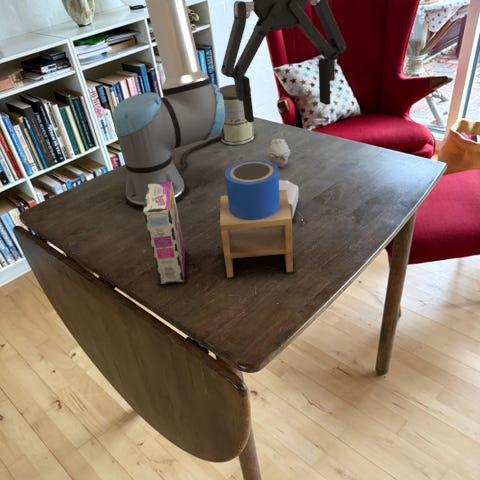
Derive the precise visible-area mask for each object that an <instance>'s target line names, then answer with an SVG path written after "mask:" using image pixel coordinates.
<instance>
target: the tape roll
mask: <svg viewBox="0 0 480 480" xmlns="http://www.w3.org/2000/svg"><path fill="white" fill-rule="evenodd" d="M224 177H225V178H224V179H225V187H226V192H227V193H226V196H227V195H228V203H229V211H230V213H231V214H232V215H233V216H235V217H237V218H240V219H245V220H257V219H263V218H266V217H269V216H271V215H273V214H274V213H276V212H277V211H278V209H279V207H280V197H279V180H280V172H279V167H277V166H276V165H275V164H273V163H271V161H268V160H261V159H250V160H244V161H240V162H237V163H235V164H233V165H231V166H229V167H228V168H227V169H226V171H225V173H224Z"/></svg>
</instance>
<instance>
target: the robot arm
mask: <svg viewBox="0 0 480 480" xmlns="http://www.w3.org/2000/svg"><path fill="white" fill-rule="evenodd" d="M308 1H309V2H310V4H311V6H313V7H314V9H315V12H316V15H317V17H318V19H319V21H320V24H321V25H322V28H323V30H324V32H325V34H326V37H327V39H328V41H329V42H328V41H327V40H326V38H325V37H324V36H323V35H322V34H321V33H320V31H319V30H318V29H317V27H316V26H315V25H314V24H313V22H312V21H311V19H310V18H309V16H308V15H307V13H306V12H305V11H304V10H305V9H306V6H307V4H308ZM144 2H145V6H146V10H147V13H148V17H149V21H150V25H151V29H152V33H153V36H154V41H155V43H156V48H157V51H158V54H159V59H160V63H161V66H162V71H163V74H164V78H165V79H164V82H163V84H162V86H161V91H162V94H163V96H162V97H160V95H159V94H158V93H156V92H153V91H152V92H148V91H147V92H144V93H137V94H134V95H131V96H129V97H126V98H125V99H123V100H121V101H119V102H118V103H117V104H116V106H115V107H114V109H113V110H112V121H113V122H112V123H113V126H114V134H116V137H117V140H118V144H119V148H120V152H121V156H122V159H123V163H124V166H125V170H126V177H125V196H126V200H127V203H128V204H129V205H131V206H132V207H134V208H138V209H141V210H142V209H143V210H144V204H145V199H146V194H147V188H148V184H156V183H164V182H172V186H173V191H174V196H175V201H176V202H177V201H179V200H180V199H182V198H183V196H184V195H185V193H186V187H185V182H184V180H183V178H182V176H181V175H180V171H183V170H184V169H185V168H186V166H187V165H186V159H185V158H186V156H187V155H188V154H190V153H191V152H193V151H195V150H198V149H201V148H202V147H205V146H207V145H209V144H211V143H214V142H217V141H221V139H222V137H221V135H219V134H220V133H221V130H222V128H223V125H224V120H225V105H224V100H223V96H222V94H221V93H220V89H219V88H220V87H218V85H216V84H215V83H211V81H210V76H209V75H207V74H206V73H205V72H203V70H202V69H201V65H200V61H199V55H198V52H197V49H196V43H195V39H194V34H193V29H192V26H191V25H192V24H191V21H190V17H189V11H188V7H187V3H186V0H144ZM252 11H253V13H254V14H255V15H256V17H257V18H258V19H257V21H256V23H255V25H254V27H253V29H252V30H253V31H252V33H251V35H250V37H249V39H248V41H247V43H246V44H245V46H244V48H243V50H242V52H241V54H240V56H239V57H238V54H239V50H240V47H241V44H242V40H243V37H244V32H245V28H246V24H247V19H249V18H250V16H251V13H252ZM295 26H296V27H297V28H299V29H300V30H301V32H302V34H304V35H305V36H306V38H307V39H308V40H309V41H310V42H311V44H312V45H313V46H314V47H315V49H317V51H318V52H319V53H320V54H321V56H322V57H323V58H319V59H318V92H319V93H318V94H319V95H318V96H319V103H321V104H323V105H326V106H329V105H331V82H332V81H334V80H335V77H336V67H335V66H336V63H335V62H336V60H337V59H338V58H339V55H340V54H343V53H345V52H346V51H347V45H346V43H345V40H344V38H343V36H342V33H341V31H340V29H339V26H338V24H337V22H336V19H335V17H334V14H333V12H332V10H331V7H330V6H329V2H328V0H251V1H243V0H235V1H234V3H233V22H232V26H231V29H230V34H229V38H228V40H227V41H228V42H227V45H226V49H225V53H224V56H223V60H222V64H221V69H220V73H221V74H222V75H224V77H226V78H231V79H232V78H233V79H232V80H233V83H234V84H235V90H236V97H237V99H238V100H239V101H243V107H244V115H245V119H246V120H247V121H248V122H249V123H251V122H253V123H254V122H255V118H254V110H253V109H254V108H253V99H252V89H251V90H250V88H251V83H250V81H251V80H250V78H249V77H248V76H246V74H247V71H248V70H249V68H250V66H251V64H252V62H253V60H254V58H255V56H256V54H257V52H258V50H259V49H260V47H261V45H262V43H263V41H264V39H265V38H266V37H267V36H268V34H269V32H270V31H271V32H272V31H273V32H279V31H281V30H283V29H293V28H295ZM237 58H238V60H237ZM217 135H219V136H217ZM215 136H217V137H215ZM213 137H214V138H213ZM210 138H211V139H210ZM201 141H204V142H202V143H199V144H197V145H195V146H192V147H190V148H188V149H187V150H186V151H184V152H183V153H182V155H181V163H182V165H181V166H179V167H176V165H175V164H174V161H173V156H172V151H173V150H175V149H178V148H181V147H184V146H188V145H192V144H194V143H197V142H201Z"/></svg>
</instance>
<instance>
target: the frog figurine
mask: <svg viewBox="0 0 480 480" xmlns="http://www.w3.org/2000/svg"><path fill="white" fill-rule="evenodd" d="M290 156H291V150H290V148H289V145H288V143H287V142H286V139H285V138H276V139H275V138H274V139H272V140H271V144H269V147H268V150H267V157H268V158H269V162H271V163H273V164H275V165H276V166H277V167H278V168H282V167H284V166H285V165H287V163H288V162H289V161H288V160H289V157H290Z"/></svg>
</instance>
